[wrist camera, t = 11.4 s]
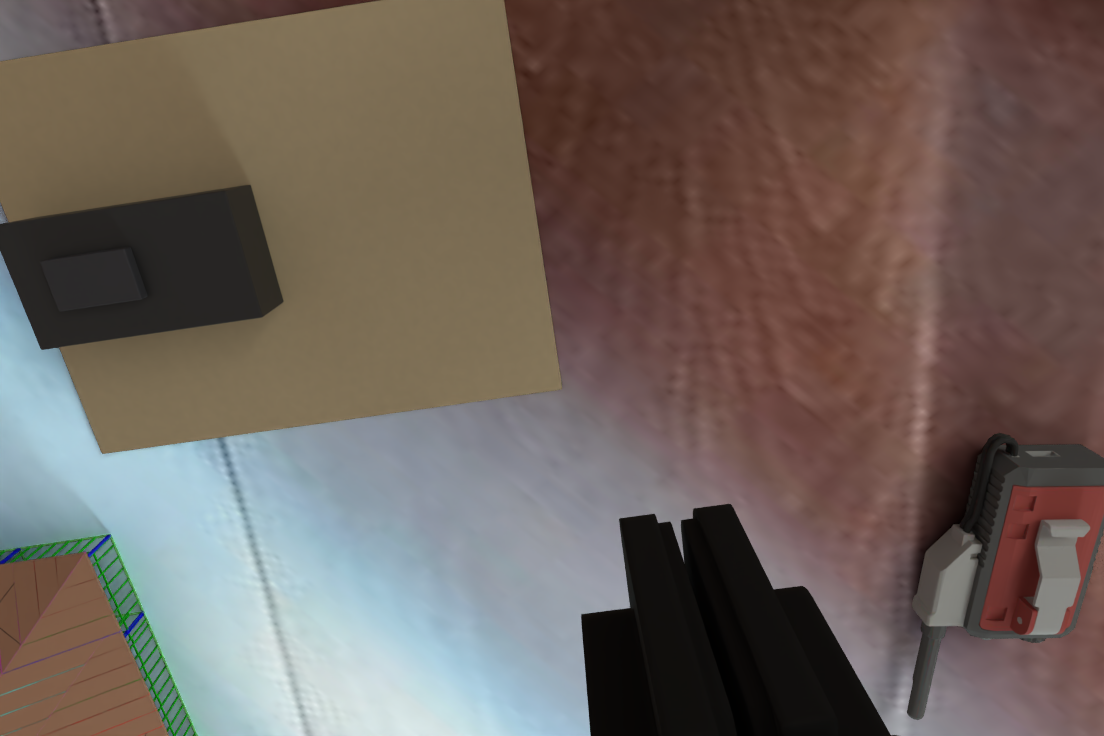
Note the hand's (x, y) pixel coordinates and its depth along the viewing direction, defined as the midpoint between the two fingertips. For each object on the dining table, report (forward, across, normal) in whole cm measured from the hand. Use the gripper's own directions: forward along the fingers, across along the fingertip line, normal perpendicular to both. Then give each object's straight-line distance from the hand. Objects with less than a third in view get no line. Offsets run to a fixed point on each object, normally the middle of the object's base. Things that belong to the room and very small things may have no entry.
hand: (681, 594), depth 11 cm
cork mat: (+27, +15, -3) cm, 31 cm away
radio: (+25, +16, -3) cm, 30 cm away
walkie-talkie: (+27, -22, +23) cm, 42 cm away
